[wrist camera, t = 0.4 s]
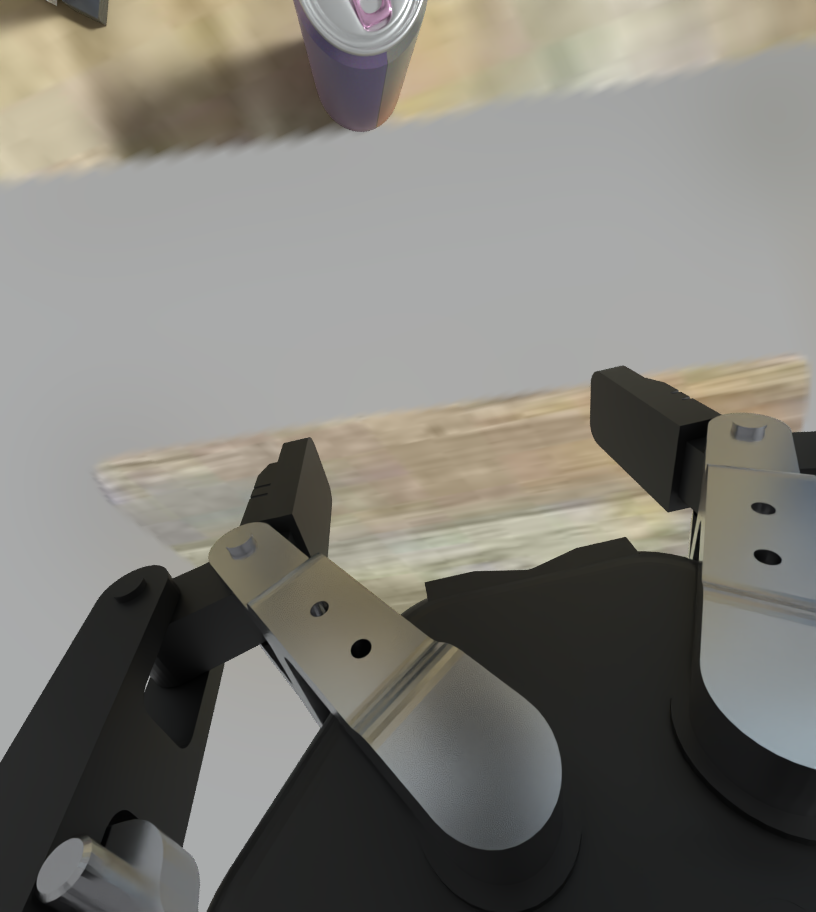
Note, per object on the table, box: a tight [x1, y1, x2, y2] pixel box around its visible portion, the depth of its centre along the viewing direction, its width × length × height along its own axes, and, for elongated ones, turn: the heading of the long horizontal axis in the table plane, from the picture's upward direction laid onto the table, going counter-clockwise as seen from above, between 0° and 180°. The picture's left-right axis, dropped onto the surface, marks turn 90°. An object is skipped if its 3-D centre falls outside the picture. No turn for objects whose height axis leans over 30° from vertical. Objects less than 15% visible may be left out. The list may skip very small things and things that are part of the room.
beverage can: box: [293, 0, 427, 132], centre depth 24 cm, size 6×6×15 cm
